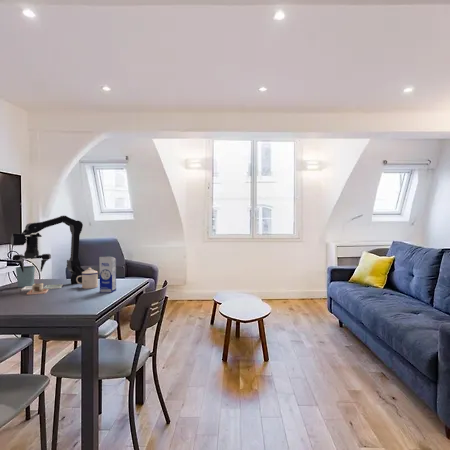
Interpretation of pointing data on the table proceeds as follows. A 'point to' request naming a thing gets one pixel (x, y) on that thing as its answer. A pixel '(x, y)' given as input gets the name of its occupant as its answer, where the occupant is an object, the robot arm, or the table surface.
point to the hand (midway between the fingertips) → (32, 271)
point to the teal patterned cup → (25, 276)
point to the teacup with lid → (89, 279)
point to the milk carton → (107, 274)
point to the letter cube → (37, 287)
